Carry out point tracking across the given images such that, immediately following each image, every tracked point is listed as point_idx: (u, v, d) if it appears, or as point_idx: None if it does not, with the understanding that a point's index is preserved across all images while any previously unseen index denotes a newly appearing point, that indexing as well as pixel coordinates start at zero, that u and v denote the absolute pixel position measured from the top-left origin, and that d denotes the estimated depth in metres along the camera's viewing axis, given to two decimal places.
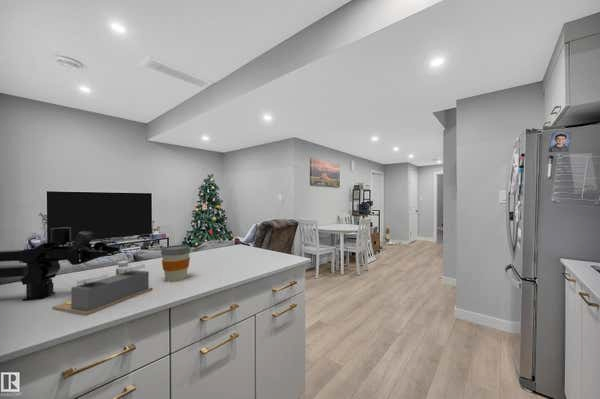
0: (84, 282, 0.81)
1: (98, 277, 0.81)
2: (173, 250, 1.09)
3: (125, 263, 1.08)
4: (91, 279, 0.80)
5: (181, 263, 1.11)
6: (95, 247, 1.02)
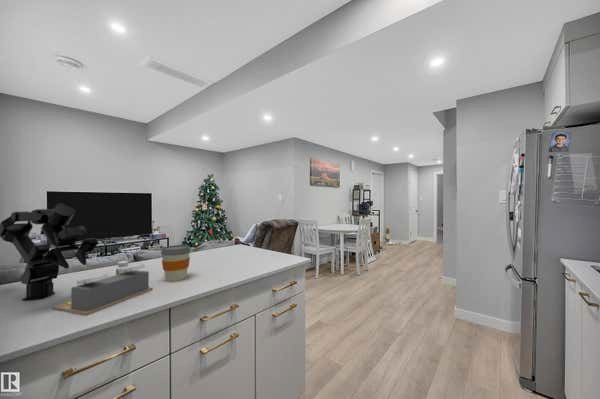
0: (84, 282, 0.81)
1: (98, 277, 0.81)
2: (173, 250, 1.09)
3: (125, 263, 1.08)
4: (91, 279, 0.80)
5: (181, 263, 1.11)
6: (83, 242, 0.93)
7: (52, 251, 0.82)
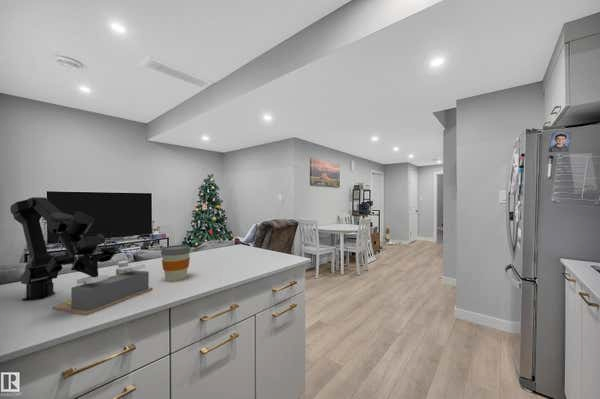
0: (84, 282, 0.81)
1: (98, 278, 0.81)
2: (173, 250, 1.09)
3: (125, 263, 1.08)
4: (91, 280, 0.80)
5: (181, 263, 1.11)
6: (101, 251, 0.90)
7: (80, 260, 0.81)
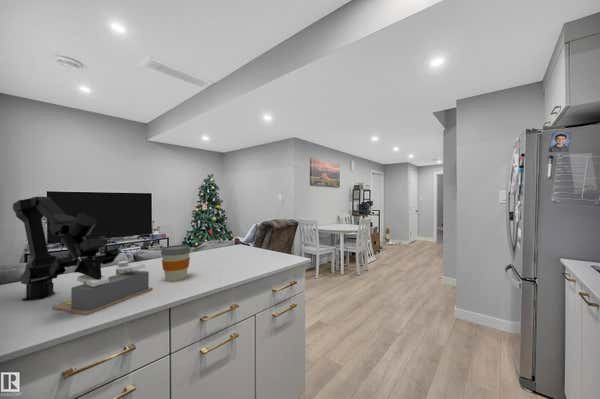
0: (84, 282, 0.81)
1: (99, 282, 0.81)
2: (173, 250, 1.09)
3: (125, 263, 1.08)
4: (92, 283, 0.80)
5: (181, 263, 1.11)
6: (104, 253, 0.89)
7: (83, 262, 0.80)
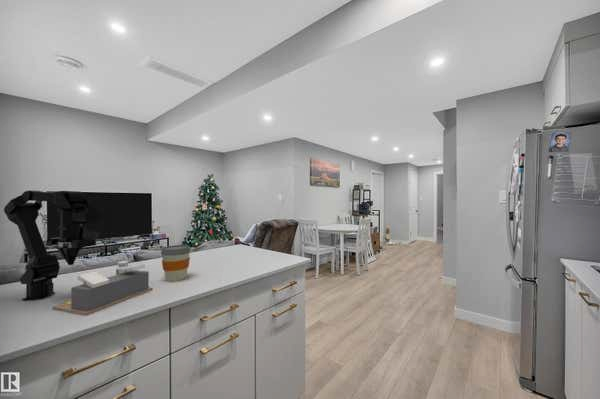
0: (85, 282, 0.81)
1: (99, 283, 0.81)
2: (173, 250, 1.09)
3: (125, 263, 1.08)
4: (92, 285, 0.80)
5: (181, 263, 1.11)
6: None
7: None
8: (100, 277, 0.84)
